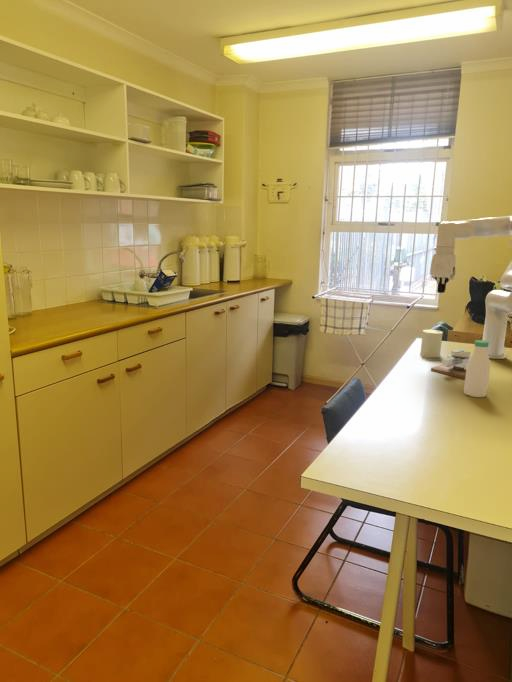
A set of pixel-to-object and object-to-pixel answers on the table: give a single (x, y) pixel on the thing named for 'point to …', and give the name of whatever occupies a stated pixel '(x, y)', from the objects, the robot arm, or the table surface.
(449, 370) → the post base
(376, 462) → the table surface
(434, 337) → the can
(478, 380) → the milk bottle
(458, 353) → the coupling
